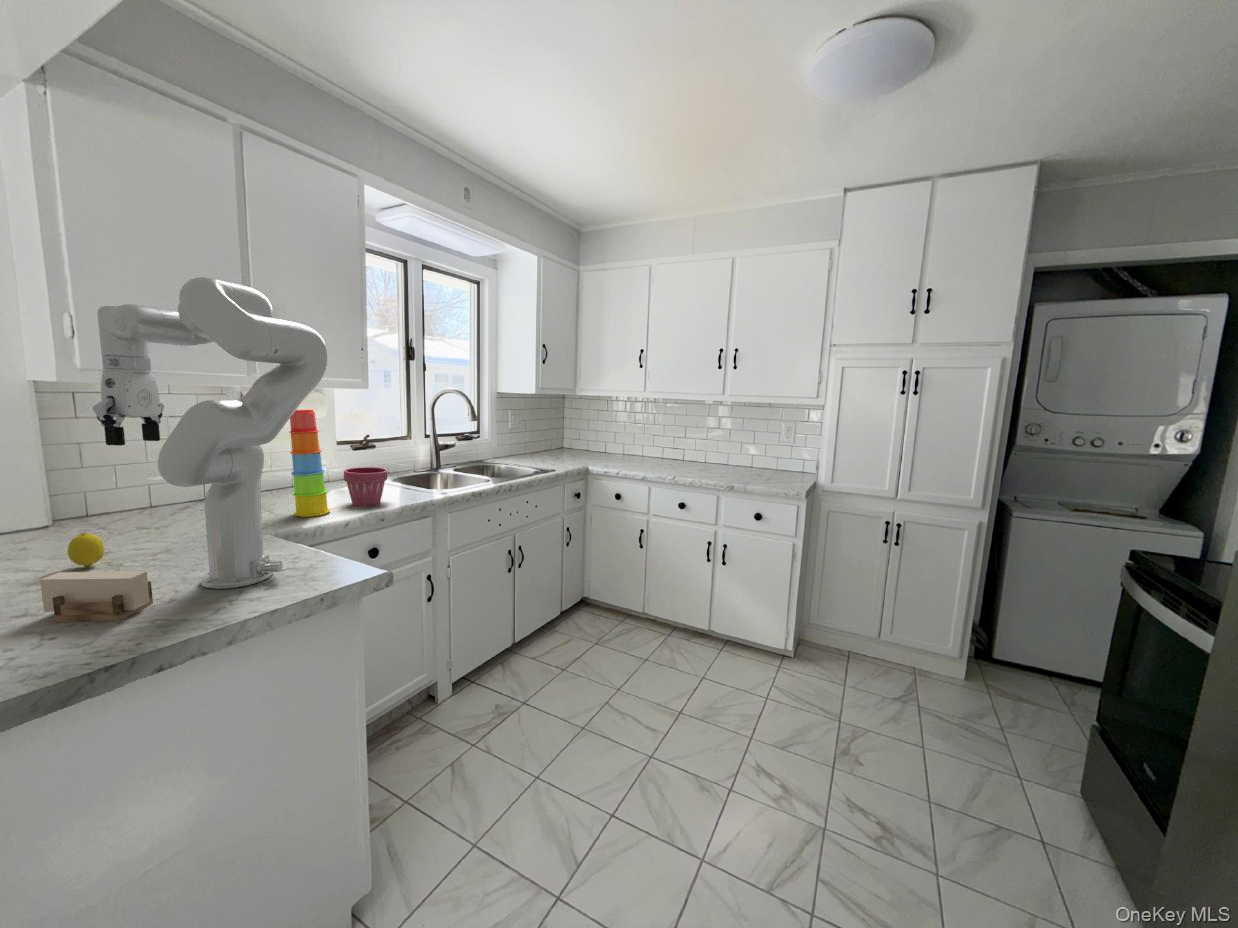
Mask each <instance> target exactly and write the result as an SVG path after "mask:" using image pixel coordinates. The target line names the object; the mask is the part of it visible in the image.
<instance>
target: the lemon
mask: <svg viewBox="0 0 1238 928" xmlns="http://www.w3.org/2000/svg"><path fill="white" fill-rule="evenodd" d="M104 544H105V543H104V542H103V541H102V539H101V537H100V536H97V535H95V534H93V533H88V532H82V533H81V534H79V535H76V536H75V537H73V538H72V539H71V540H70V542H69V544H68V547H67V554H68V558H69V560H71V562H73V563H74V564H75V565H79V566H84V567H86V568H90V567H91V566H93V565H94V564H95V563H97V562H99V561H100V560H101V559H103V556H104V554H105V549H106V548H105V545H104Z"/></svg>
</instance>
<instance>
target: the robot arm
mask: <svg viewBox="0 0 1238 928" xmlns="http://www.w3.org/2000/svg"><path fill="white" fill-rule="evenodd" d="M178 298H179V299H178V300H179V303H178V305H177V310H173V309H172V310H171V309H168V308H167V309H166V308H161V307H155V306H147V305H143V304H134V303H126V304H120V305H118V306H115V305H102V306H100V307H99V308H98V309H97V322H98V323H97V324H98V334H99V343H100V352H101V353H100V354H101V363H102V373H101V382H100V383H101V385H100V386H101V387H100V393H101V395H100V398H101V400H100V402H97V403H96V404H94V405H93V406H92V410H93V412H94V414H95V415H96V419H97V421H99V422H100V425H101V426H102V427H103V428H104V437H105V438H104V439H105V444H106V445H107V446H125V445H126V439H125V429H124V428H125V427H124V426H122V424H123V422H124V420H125V419H126V418H132V419H133V418H140V419H141V420H142V421H143V422H142V423H141V432H142V440H143V441H145V442H146V441H147V442H159V441H161V434H160V424H161V422H162V420H161V418H162V417H163V411H164V408H165V405H164V403H162V402H161V399H160V394H159V389H158V385H157V381H156V378H155V374H154V373H153V372H152V365H151V364H152V363H151V354H150V353H151V352H150V344H161V345H162V344H164V345H174V346H182V347H183V346H184V347H186V346H187V347H188V346H199V345H207V344H211V343H216V345H218V346H219V347H220V348H221V349H222V350H224V352H226V353H228V354H229V355H230V356H232V357H234V358H236V359H239V360H243V361H247V362H255V363H256V362H257V363H267V364H268V363H269V364H270V363H271V364H278V365H276V366H274V367H273V368H271V369H270V370H268V371H266V372H264V373H263V374H262V375H260V376H259V377H258V378H257V379H256V380H255V381H253V383H252V385H251V387H250V388H249V389H248V391H247V392H246V393H245V394H244V395H243V396H241V397H239V398H234V399H209V400H208V399H207V400H203V401H200V402H197V403H196V404H194V405H192V406H191V407H189V408H188V409H187V410H186V411H185V413H184V414H183V415H182V417H181V418H180V420H179V421H178V423H177V424H176V426H175V427H174V429H173V430H172V432H171V433H170V435H169V436H168V437H167V439H166V441H165V442H164V444H163V445H162V447H161V449H160V452H159V454H158V457H157V469H158V472H159V475H160V476H161V478H162V479H163V480H164V481H165V482H167V483H168V484H170V485H172V486H176V487H181V488H182V487H183V488H188V487H198V486H206V485H210V484H211V485H210V486H209V489H208V491H207V492H206V495H205V499H204V514H205V515H204V516H205V517H204V518H205V529H206V530H205V531H206V541H207V544H206V545H207V554H208V555H207V557H208V569H209V571H208V572H207V573H205V574H204V575H202V576H201V578H200V579H199V580H200V581H199V582H200V585H201V586H202V587H204V588H207V589H213V590H214V589H215V590H222V589H226V590H227V589H234V588H240V587H241V588H242V587H245V586H246V587H247V586H250V585H254V584H257V583H261V582H262V581H266V580H267V579H269V578H270V577H272V576H273V574H274V573H281V572H282V571H283V561H282V560H272V559H271V560H270V554H267V553H264V540H263V536H264V535H263V521H262V500H261V482H262V475H263V469H264V464H265V463H264V462H265V455H264V450H263V448H262V445H265V444H268V443H271V442H272V441H273V440H274V439H275V438H276V437H277V436H278V435H279V433H280V431H281V430H282V429H283V428H284V427H285V425H286V424H287V422H288V421H290V417H291V416H292V415H293V413H294V412H295V411H296V410H298V408H299V407H300V405H301V404H302V403H303V401H305V400H306V399H307V397H308V396H309V395H310V394H312V392H313V391H314V390H315V388H316V387H317V386H318V385H319V383H320V382H321V381H322V379H323V378H324V375H325V373H326V370H327V365H328V350H327V349H328V348H327V347H326V343H325V340H324V339H323V337H322V336H321V335H320V334H319V333H318V332H317V331H316V330H314V329H313V328H311V327H309V326H307V325H304V324H303V323H302V324H301V323H298V322H293V321H290V320H289V321H288V320H284V319H278V318H272V317H273V306H272V304H271V302H270V301H269V299H268V297H266V296H265V295H264V294H263V293H262V292H260V291H259V290H256V289H254V288H252V287H249V286H246V285H241V284H237V283H233V282H228V281H225V280H220V279H216V278H212V277H211V278H210V277H205V276H203V277H202V276H201V277H199V276H198V277H194V278H191V279H190V280H187V281H186V282H184V284H183V285H182V286H181V289H180V291H179V294H178Z"/></svg>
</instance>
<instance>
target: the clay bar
mask: <svg viewBox="0 0 1238 928" xmlns="http://www.w3.org/2000/svg"><path fill="white" fill-rule="evenodd" d="M39 581H40V582H39V583H40V590H41V597H42V598H41V599H42V605H43V606H42V607H43V612H44V613H50V612H51V613H52V612H53V613H54V607H53V599H52V598H54V597H56V596H64V599H65V603H112V597H113V596H115V595H123V605H124V610H135V609H137V608H139V607H141V606H143V605H145V604H147V603H148V602H150V600H149V589H148V581H149V580H148V571H146V570H145V571H64V572H63V571H61V572H60V571H59V572H56V573H53V574H51V575H48V576H45V577H43V578H40V579H39Z"/></svg>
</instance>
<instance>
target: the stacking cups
mask: <svg viewBox="0 0 1238 928" xmlns="http://www.w3.org/2000/svg"><path fill="white" fill-rule="evenodd" d="M289 425H290V431H288V432H289V433H290V440H291V451H289V453H290V454H291V460H292V470H293V471H292V472H291V475H292V476H293V487H294V491H293V492H292V496H293V497H294V501H295V512H293V516H295V517H297V516H300V517H299V518H312V517H318V516H323V515H326V514H329V513H330V512H331V509H330V508H328V507H329V506H328V500H327V493H328V489H326V486H325V476H324V472H325V470H324V469H323V463H322V455H321V453H322V450H321V449H320V441H319V433H318V432H320V431H319V429H317V419H316V412H315V411H314V409H296V411H295V412H294V413H293V415H292V416H291V417H290V419H289Z"/></svg>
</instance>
